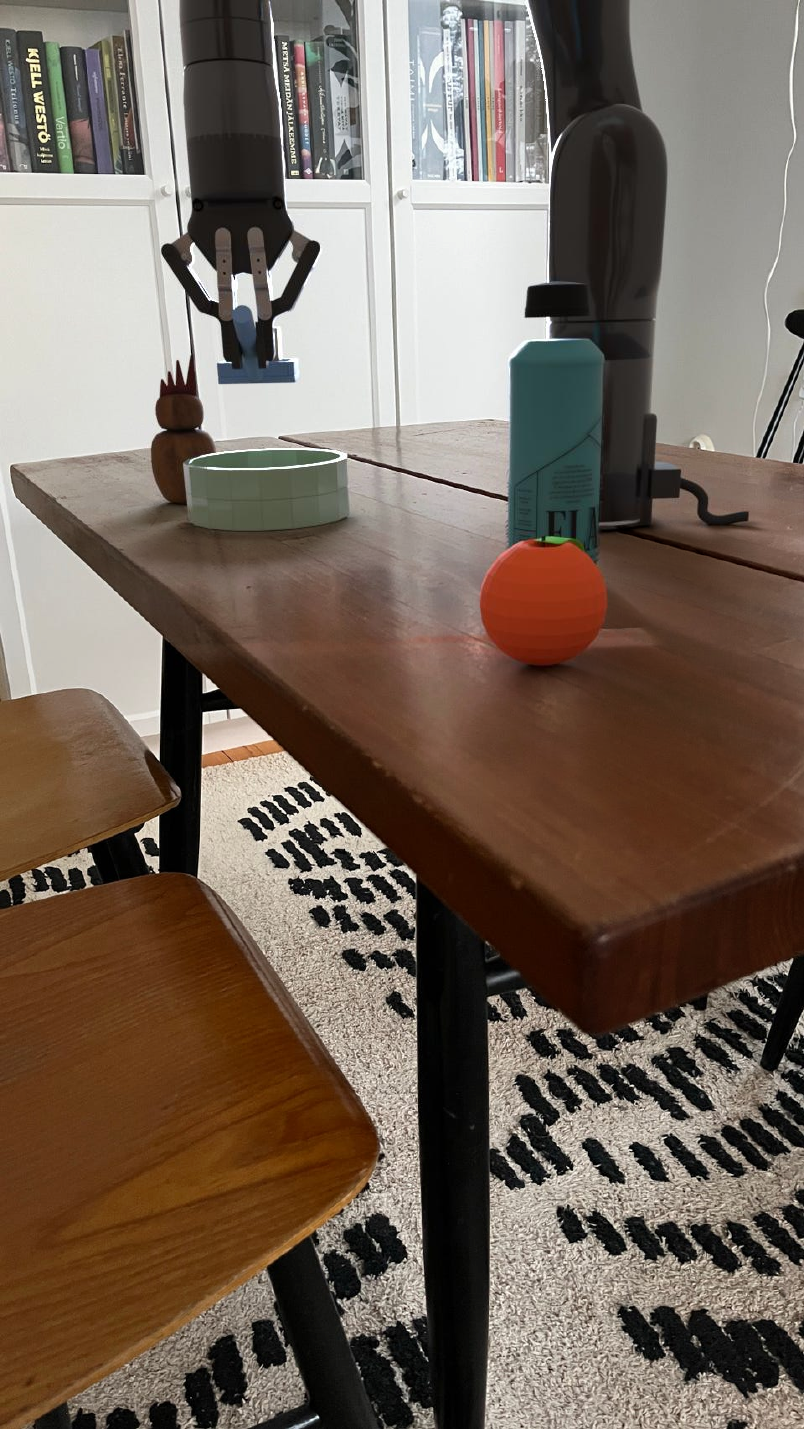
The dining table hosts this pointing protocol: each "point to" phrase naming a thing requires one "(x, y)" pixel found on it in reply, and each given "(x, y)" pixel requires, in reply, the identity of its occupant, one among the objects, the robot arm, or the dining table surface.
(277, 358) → the brown block
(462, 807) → the dining table surface
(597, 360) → the beverage bottle
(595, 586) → the clementine
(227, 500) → the mint green round tray
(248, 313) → the frame with upright peg
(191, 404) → the wooden figurine
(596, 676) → the dining table surface
